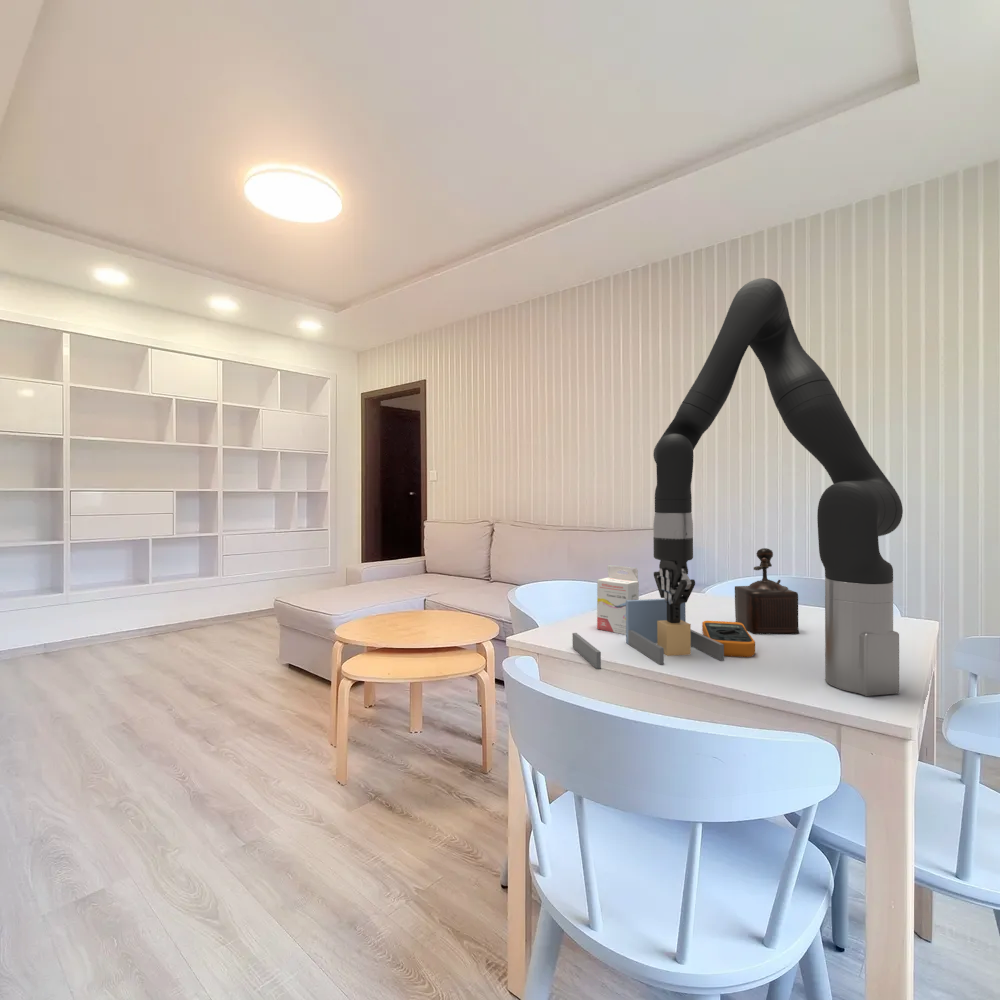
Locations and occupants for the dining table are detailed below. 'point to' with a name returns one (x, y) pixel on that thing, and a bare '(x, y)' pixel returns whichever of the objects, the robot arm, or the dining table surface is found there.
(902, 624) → the dining table surface
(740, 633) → the multimeter
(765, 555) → the manual coffee grinder
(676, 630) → the tan wooden cube
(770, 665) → the dining table surface
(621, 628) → the ink cartridge box
